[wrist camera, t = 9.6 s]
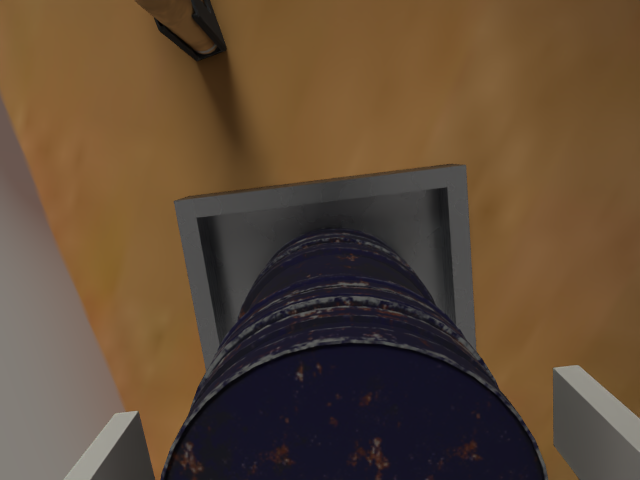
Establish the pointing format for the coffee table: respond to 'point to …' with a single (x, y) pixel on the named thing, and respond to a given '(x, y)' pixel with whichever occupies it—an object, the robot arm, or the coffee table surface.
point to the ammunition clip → (188, 25)
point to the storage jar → (348, 380)
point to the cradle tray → (326, 212)
